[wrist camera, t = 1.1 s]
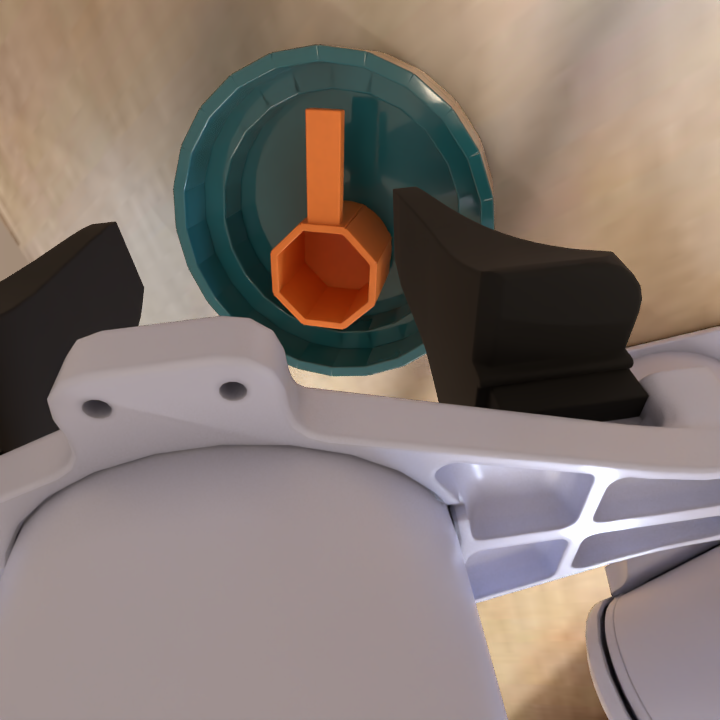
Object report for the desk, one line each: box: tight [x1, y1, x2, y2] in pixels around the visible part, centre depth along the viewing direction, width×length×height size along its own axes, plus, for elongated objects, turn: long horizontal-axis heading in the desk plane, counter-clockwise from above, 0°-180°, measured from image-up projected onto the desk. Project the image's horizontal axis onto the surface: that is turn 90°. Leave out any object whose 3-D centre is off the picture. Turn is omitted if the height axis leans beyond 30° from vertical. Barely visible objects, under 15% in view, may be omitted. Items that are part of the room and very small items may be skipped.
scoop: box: [270, 108, 392, 329], centre depth 22 cm, size 8×4×4 cm, turn 178°
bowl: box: [173, 44, 495, 376], centre depth 22 cm, size 13×13×4 cm
